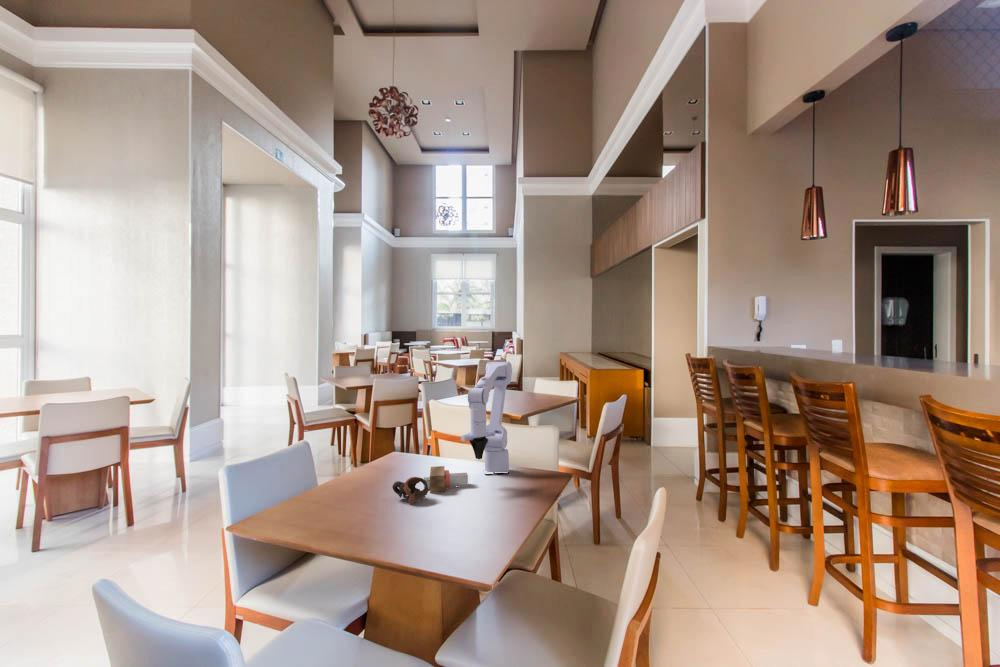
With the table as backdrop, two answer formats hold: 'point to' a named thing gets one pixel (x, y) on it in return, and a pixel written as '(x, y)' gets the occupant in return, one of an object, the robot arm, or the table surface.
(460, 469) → the table surface
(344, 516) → the table surface
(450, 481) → the grey and red block
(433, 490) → the walnut block
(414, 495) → the brown ringed sculpture
